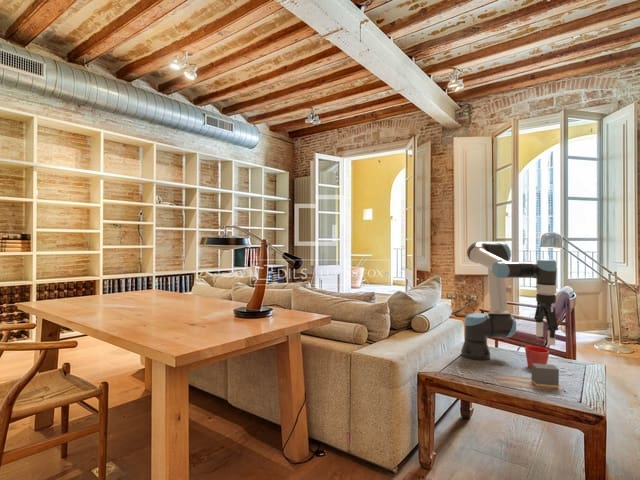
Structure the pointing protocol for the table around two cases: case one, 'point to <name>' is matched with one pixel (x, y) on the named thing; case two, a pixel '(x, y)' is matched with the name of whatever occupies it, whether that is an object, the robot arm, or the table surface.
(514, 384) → the plank
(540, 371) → the sanding block
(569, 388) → the table surface
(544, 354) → the flower pot
